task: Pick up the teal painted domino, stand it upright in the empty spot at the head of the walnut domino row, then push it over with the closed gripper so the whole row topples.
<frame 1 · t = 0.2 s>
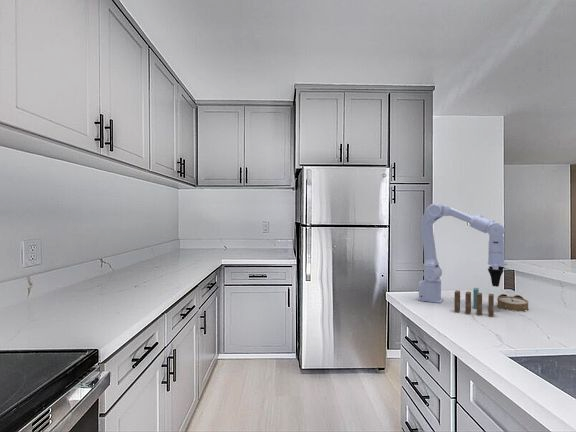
hand: (495, 284, 155), 10 cm above the worktop, tool pointing down, fingers open, 7 cm apart
alarm clock: (511, 307, 158), on the worktop
domino 5: (490, 315, 144), on the worktop
domino 4: (479, 314, 146), on the worktop
domino 2: (457, 311, 150), on the worktop
teal domino: (475, 307, 156), on the worktop
domino 3: (468, 312, 148), on the worktop
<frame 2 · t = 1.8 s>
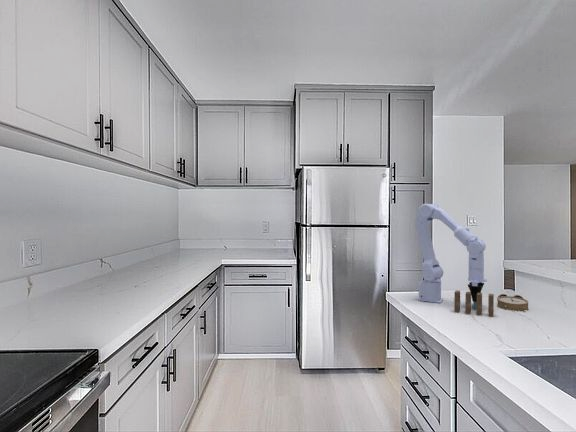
hand: (475, 300, 156), 3 cm above the worktop, tool pointing down, fingers closed on teal domino, 4 cm apart
teal domino: (475, 307, 156), on the worktop, touching gripper
everything else where it was.
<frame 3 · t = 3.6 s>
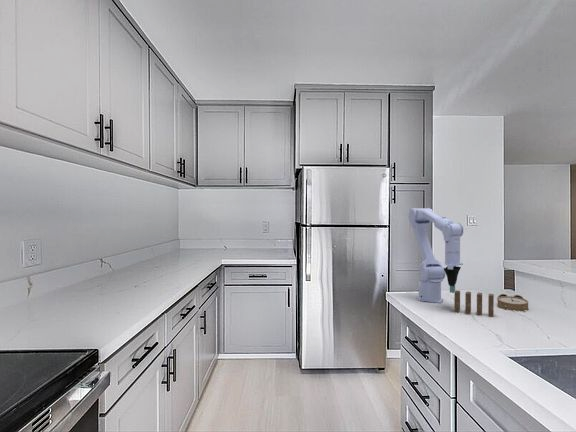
hand: (452, 284, 155), 10 cm above the worktop, tool pointing down, fingers closed on teal domino, 4 cm apart
teal domino: (452, 291, 155), point 7 cm above the worktop, touching gripper
everything else where it was.
when the fingers open (4 cm above the worktop, at t = 5.7 s): teal domino stays where it is, on the worktop.
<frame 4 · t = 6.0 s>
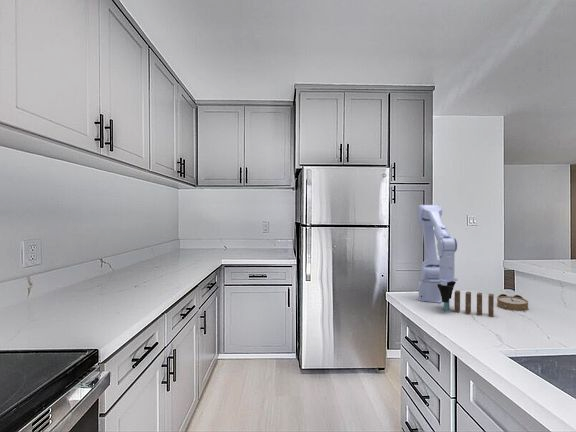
hand: (446, 300, 152), 4 cm above the worktop, tool pointing down, fingers open, 7 cm apart
teal domino: (446, 309, 152), on the worktop
everything else where it was.
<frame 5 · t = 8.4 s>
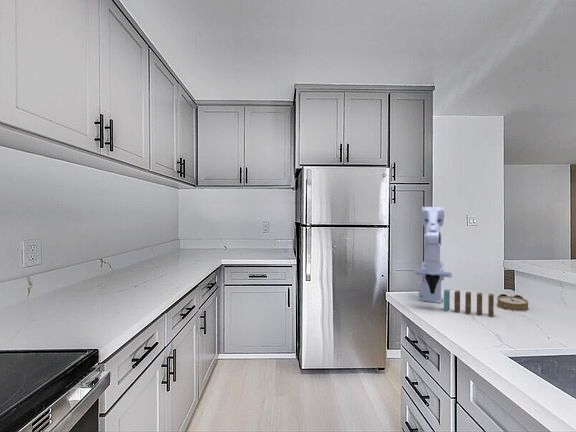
hand: (432, 293, 155), 6 cm above the worktop, tool pointing down, fingers closed
nothing on the worktop moved.
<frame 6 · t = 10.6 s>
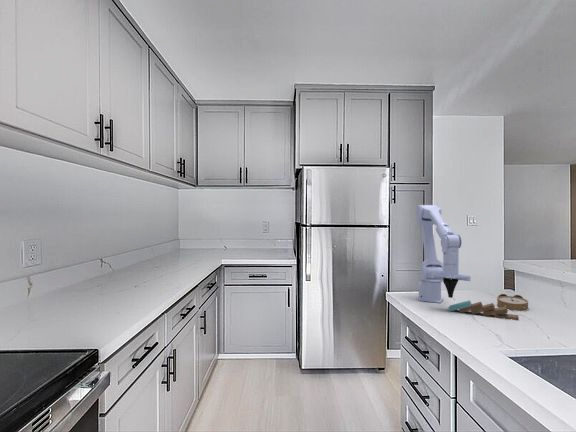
hand: (450, 297, 152), 5 cm above the worktop, tool pointing down, fingers closed
domino 5: (494, 315, 143), on the worktop, tilted 90°, touching domino 4
domino 4: (484, 312, 145), point 1 cm above the worktop, tilted 74°, touching domino 3, domino 5
domino 2: (460, 309, 150), point 1 cm above the worktop, tilted 67°, touching domino 3, teal domino
teal domino: (450, 308, 152), point 1 cm above the worktop, tilted 67°, touching domino 2
domino 3: (472, 311, 147), point 1 cm above the worktop, tilted 67°, touching domino 2, domino 4
everything else where it was.
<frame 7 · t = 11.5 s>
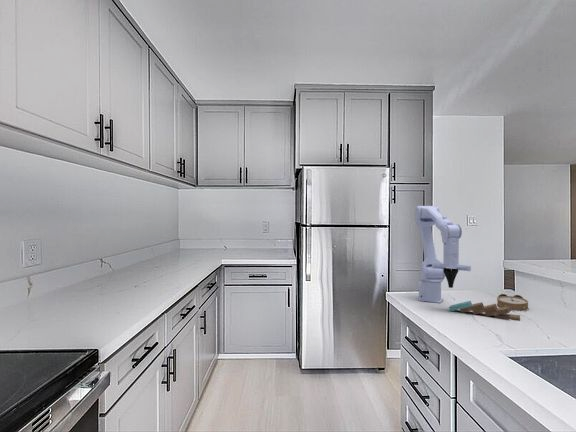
hand: (450, 287, 152), 9 cm above the worktop, tool pointing down, fingers closed
domino 4: (486, 313, 144), point 1 cm above the worktop, tilted 71°, touching domino 3, domino 5
domino 3: (474, 311, 147), point 1 cm above the worktop, tilted 68°, touching domino 2, domino 4
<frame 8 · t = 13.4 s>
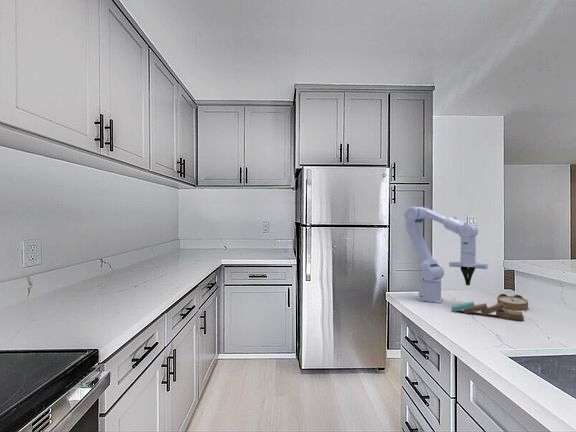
hand: (467, 285, 157), 9 cm above the worktop, tool pointing down, fingers closed
domino 5: (499, 316, 142), on the worktop, tilted 90°, touching domino 4
domino 4: (497, 312, 143), point 2 cm above the worktop, tilted 90°, touching domino 5
domino 2: (465, 310, 149), point 1 cm above the worktop, tilted 71°, touching teal domino
domino 3: (482, 312, 145), point 1 cm above the worktop, tilted 61°
at the end: domino 5 tilted 90°; teal domino inside the target area (1.8 cm from its centre), point 0.7 cm above the worktop; teal domino tilted 70° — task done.
